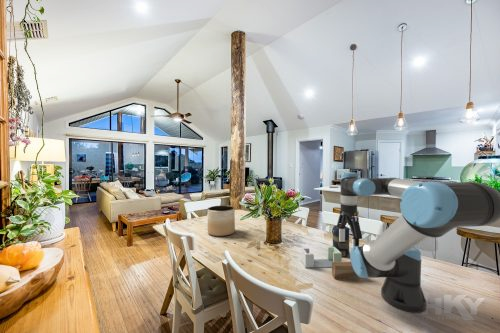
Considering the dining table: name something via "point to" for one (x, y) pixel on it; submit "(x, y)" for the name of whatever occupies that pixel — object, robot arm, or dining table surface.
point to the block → (343, 271)
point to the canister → (341, 246)
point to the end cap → (334, 254)
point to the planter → (221, 220)
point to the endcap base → (313, 260)
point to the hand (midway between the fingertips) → (348, 246)
